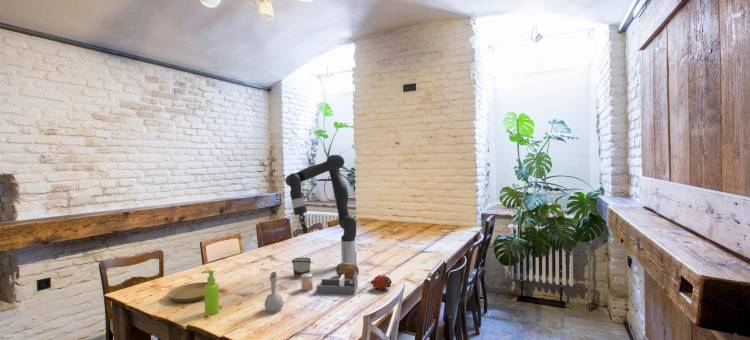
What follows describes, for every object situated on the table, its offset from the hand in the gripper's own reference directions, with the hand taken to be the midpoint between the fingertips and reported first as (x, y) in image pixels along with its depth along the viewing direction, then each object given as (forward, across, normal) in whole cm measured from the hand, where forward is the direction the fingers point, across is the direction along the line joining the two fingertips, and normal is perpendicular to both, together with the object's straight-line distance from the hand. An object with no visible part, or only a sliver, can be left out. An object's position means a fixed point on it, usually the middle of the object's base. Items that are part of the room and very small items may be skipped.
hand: (305, 232), depth 210 cm
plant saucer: (+16, -11, +64) cm, 67 cm away
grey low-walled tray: (+34, -18, -11) cm, 40 cm away
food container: (+25, +12, +9) cm, 30 cm away
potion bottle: (+30, -38, +21) cm, 52 cm away
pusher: (+33, -18, -13) cm, 40 cm away
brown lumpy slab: (+33, +2, -18) cm, 38 cm away
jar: (+30, -13, +6) cm, 33 cm away
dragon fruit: (+40, -21, -33) cm, 56 cm away
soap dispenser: (+23, -36, +49) cm, 65 cm away
